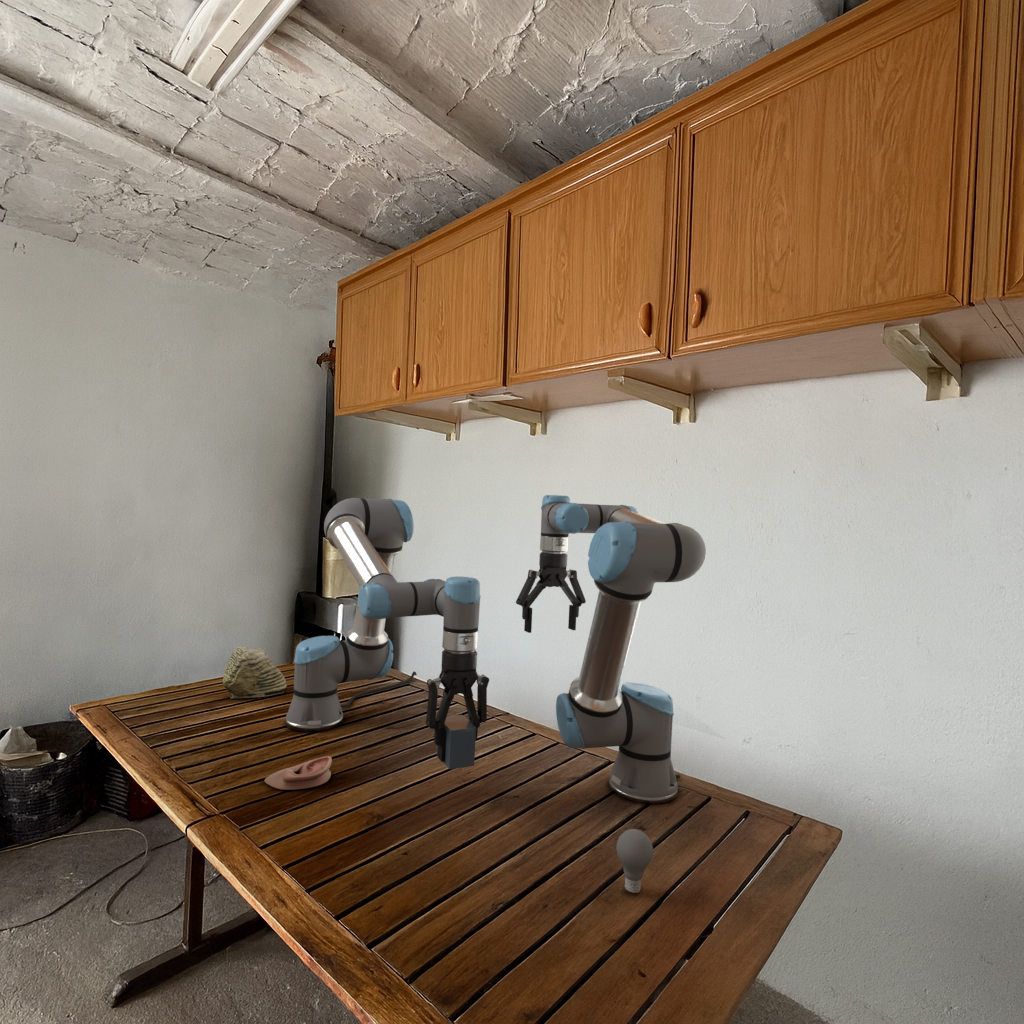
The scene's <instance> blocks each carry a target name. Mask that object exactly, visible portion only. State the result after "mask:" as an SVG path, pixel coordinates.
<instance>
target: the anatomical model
mask: <svg viewBox="0 0 1024 1024" xmlns="http://www.w3.org/2000/svg"><path fill="white" fill-rule="evenodd" d="M332 763H333V757H331V756H329V755H326V756H325V755H324V756H321V757H318V758H314V759H311V760H308V761H304V762H301V763H300V764H299V763H298V764H297V765H294V766H291V767H287V768H283V769H280V770H278V771H275V772H273V773H272V774H270V775H268V776H267V777H265V779H264V783H265V784H267V785H268V786H270V787H272V788H274V789H277V790H281V791H291V790H293V791H294V790H303V789H309V788H313V787H319V786H321V785H323V784H326V783H327V782H328V781H329V780H330V779H331V776H332V772H331V770H330V768H331V766H332Z"/></svg>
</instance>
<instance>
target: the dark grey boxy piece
mask: <svg viewBox="0 0 1024 1024" xmlns="http://www.w3.org/2000/svg"><path fill="white" fill-rule="evenodd" d="M443 728H444V729H445V730H446V748H445V762H442V763H443V764H444V766H445V767H447V769H448V770H455V769H463V768H469V767H475V759H476V758H475V755H476V740H475V737H476V727H475V726H474V725H473V724H472V723H471V722H470V720H469V719H467V717H465V716H464V715H463V714H456V715H447V717H446V720H445V723H444V727H443ZM437 755H438V745H436V756H437Z"/></svg>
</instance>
